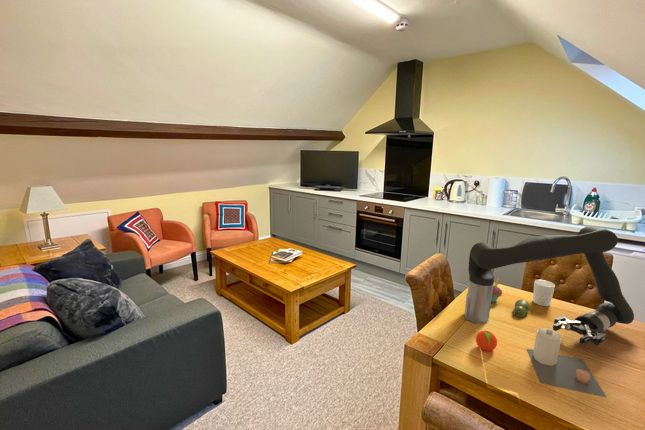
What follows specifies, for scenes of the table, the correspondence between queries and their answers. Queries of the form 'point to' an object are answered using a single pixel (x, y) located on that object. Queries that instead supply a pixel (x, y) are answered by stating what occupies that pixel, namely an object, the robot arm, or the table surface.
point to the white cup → (543, 292)
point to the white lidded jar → (547, 346)
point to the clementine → (486, 340)
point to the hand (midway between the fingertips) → (567, 334)
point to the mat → (565, 374)
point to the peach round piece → (582, 376)
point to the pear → (521, 308)
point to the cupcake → (496, 292)
